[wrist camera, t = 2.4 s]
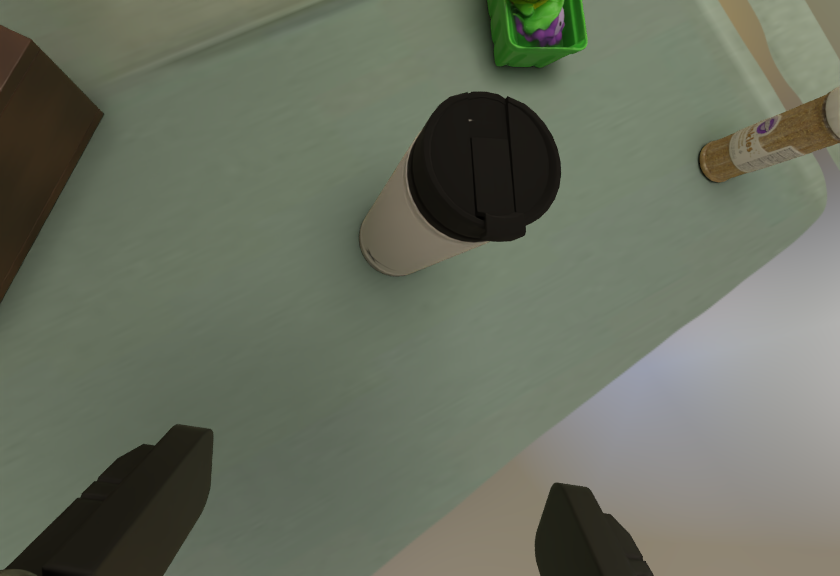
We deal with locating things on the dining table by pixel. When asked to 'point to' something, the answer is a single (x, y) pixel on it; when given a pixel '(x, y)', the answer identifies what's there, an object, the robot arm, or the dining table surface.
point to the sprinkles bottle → (774, 139)
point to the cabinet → (35, 143)
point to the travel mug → (463, 184)
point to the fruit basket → (536, 31)
